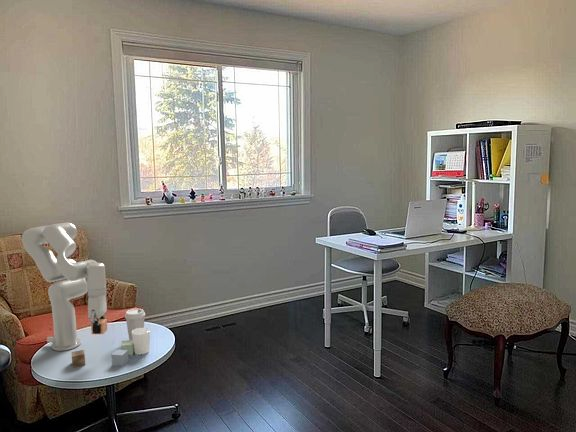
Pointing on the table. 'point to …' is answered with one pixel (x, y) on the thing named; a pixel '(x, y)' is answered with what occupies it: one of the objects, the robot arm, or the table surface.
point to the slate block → (120, 357)
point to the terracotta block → (103, 326)
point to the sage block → (128, 346)
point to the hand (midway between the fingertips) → (99, 330)
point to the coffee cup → (134, 320)
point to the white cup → (141, 340)
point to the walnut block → (78, 358)
